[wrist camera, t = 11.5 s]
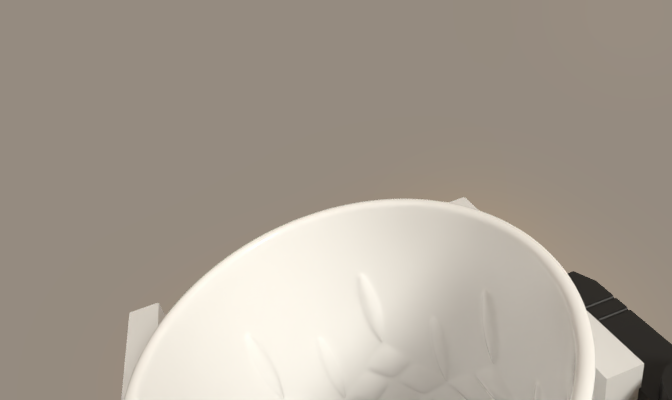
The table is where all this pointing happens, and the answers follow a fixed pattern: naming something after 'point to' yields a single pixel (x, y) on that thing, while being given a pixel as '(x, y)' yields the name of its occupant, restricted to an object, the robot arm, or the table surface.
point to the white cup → (377, 314)
